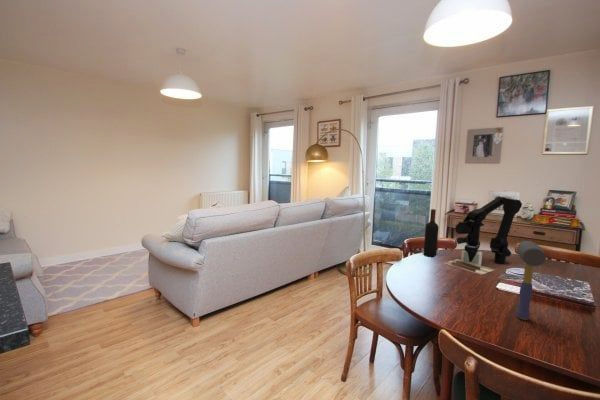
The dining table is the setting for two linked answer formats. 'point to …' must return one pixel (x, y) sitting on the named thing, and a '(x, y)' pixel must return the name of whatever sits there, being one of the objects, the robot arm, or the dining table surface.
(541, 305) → the dining table surface
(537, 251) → the rubber mallet
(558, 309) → the dining table surface
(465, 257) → the white block
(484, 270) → the display stand
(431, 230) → the wine bottle
